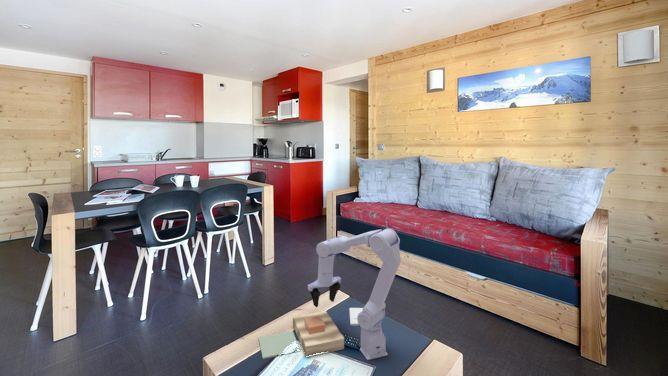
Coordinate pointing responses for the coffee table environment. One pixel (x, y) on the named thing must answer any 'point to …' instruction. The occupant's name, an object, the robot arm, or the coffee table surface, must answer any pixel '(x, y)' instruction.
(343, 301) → the coffee table surface
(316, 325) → the tile
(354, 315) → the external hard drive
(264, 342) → the mat
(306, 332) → the wavy block
